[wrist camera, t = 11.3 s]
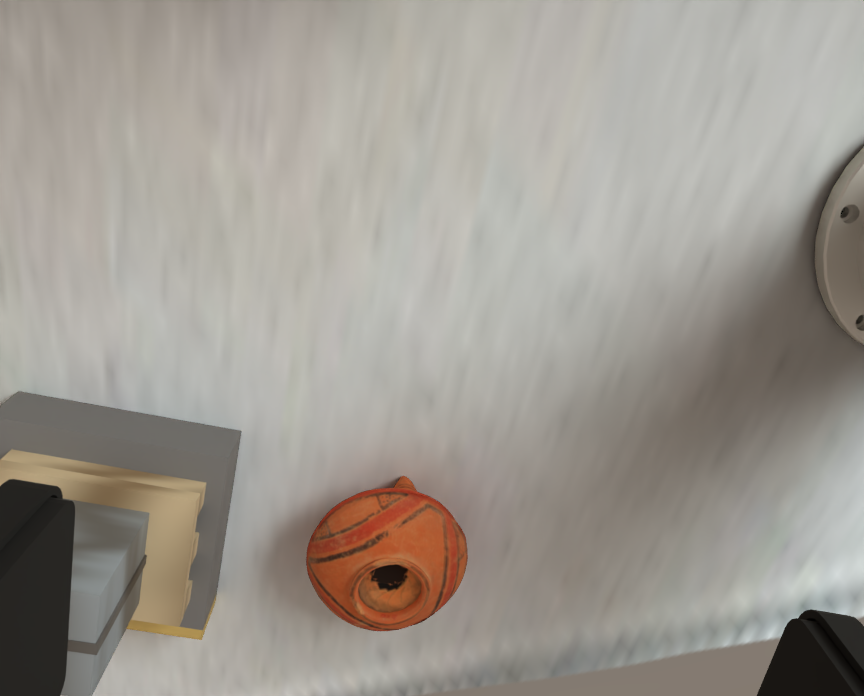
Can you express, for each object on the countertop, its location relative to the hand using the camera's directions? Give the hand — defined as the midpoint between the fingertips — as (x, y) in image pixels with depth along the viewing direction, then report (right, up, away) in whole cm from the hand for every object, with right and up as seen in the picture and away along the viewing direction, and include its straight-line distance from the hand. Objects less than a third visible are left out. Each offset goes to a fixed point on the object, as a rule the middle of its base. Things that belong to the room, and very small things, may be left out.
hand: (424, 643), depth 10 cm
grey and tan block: (-16, -5, +27) cm, 32 cm away
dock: (-16, -4, +30) cm, 34 cm away
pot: (-2, -6, +31) cm, 32 cm away
